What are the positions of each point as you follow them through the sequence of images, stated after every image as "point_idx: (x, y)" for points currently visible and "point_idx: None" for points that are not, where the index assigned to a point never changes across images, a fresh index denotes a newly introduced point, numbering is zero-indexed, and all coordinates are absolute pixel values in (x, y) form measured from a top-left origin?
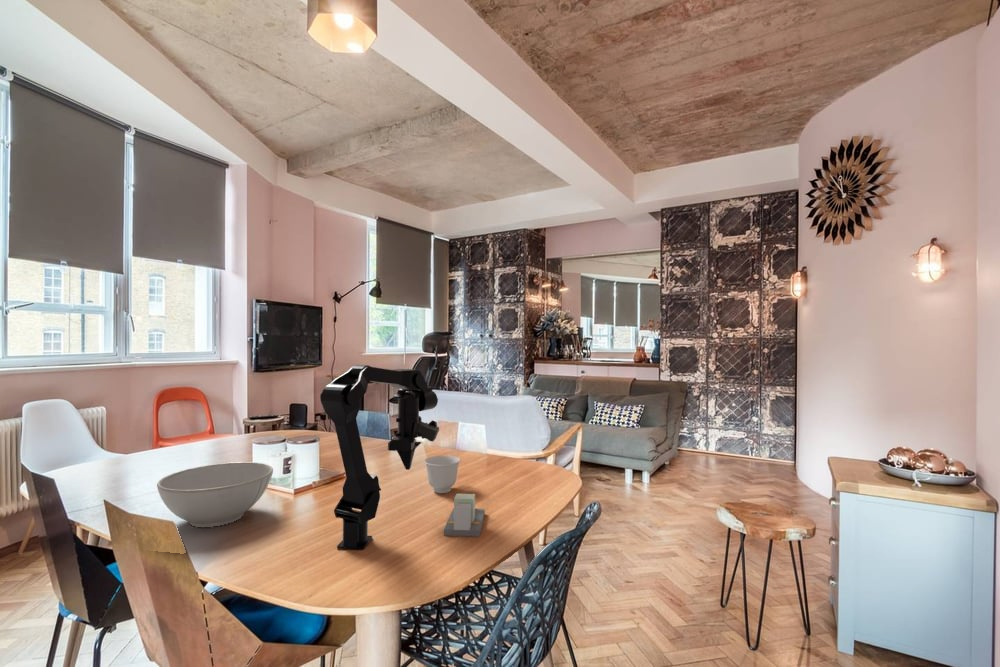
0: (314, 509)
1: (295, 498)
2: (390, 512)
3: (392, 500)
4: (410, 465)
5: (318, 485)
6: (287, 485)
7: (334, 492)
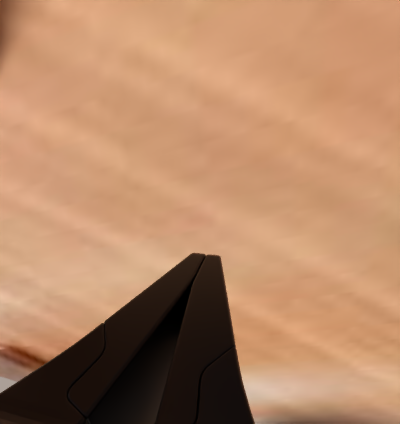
0: None
1: None
2: (220, 205)
3: (112, 220)
4: (200, 273)
5: None
6: None
7: None
